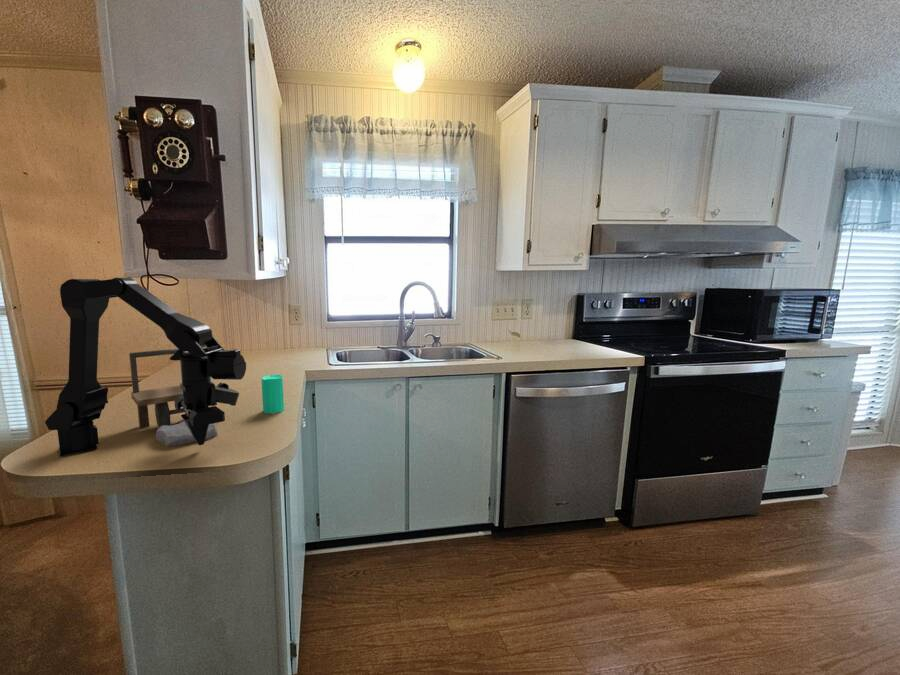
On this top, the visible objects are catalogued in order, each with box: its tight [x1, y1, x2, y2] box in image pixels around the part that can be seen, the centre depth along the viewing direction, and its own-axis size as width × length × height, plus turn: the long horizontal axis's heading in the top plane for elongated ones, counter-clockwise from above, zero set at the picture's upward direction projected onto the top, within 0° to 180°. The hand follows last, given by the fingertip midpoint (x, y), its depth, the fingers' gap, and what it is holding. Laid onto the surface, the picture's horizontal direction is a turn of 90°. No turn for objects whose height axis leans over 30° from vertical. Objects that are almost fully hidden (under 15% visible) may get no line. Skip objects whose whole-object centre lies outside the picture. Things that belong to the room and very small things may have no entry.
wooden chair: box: [128, 348, 204, 429], centre depth 116 cm, size 18×11×20 cm, turn 133°
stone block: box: [155, 420, 218, 447], centre depth 107 cm, size 12×5×10 cm
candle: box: [261, 374, 285, 414], centre depth 129 cm, size 6×6×12 cm
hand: (201, 444), depth 99 cm, fingers closed
